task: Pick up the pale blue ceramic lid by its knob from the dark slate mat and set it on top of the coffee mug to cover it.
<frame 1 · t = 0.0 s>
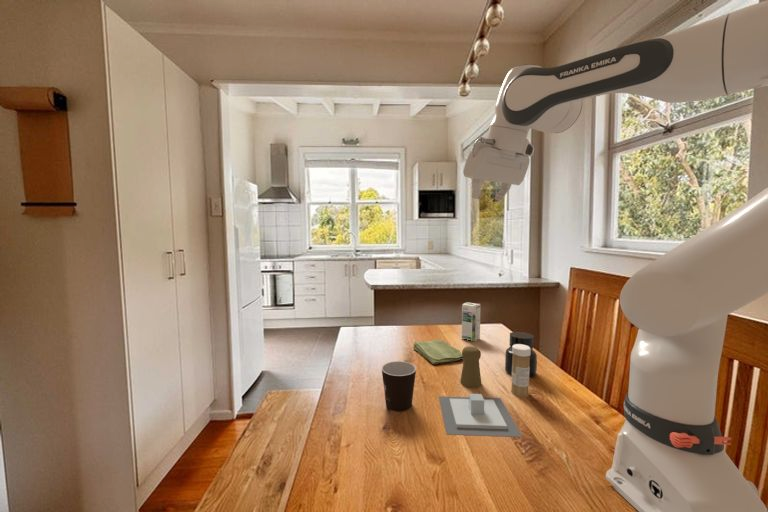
hand: (487, 199, 82), 52 cm above the table, tool tilted 20°, fingers open, 8 cm apart
mat: (475, 416, 77), on the table
lid: (476, 414, 77), point 1 cm above the table, touching mat
washcloth: (437, 355, 117), on the table
cork: (470, 385, 93), on the table
sprinkles bottle: (519, 395, 87), on the table
syrup box: (470, 339, 132), on the table
coffee mug: (400, 404, 83), on the table
ink bottle: (520, 373, 101), on the table
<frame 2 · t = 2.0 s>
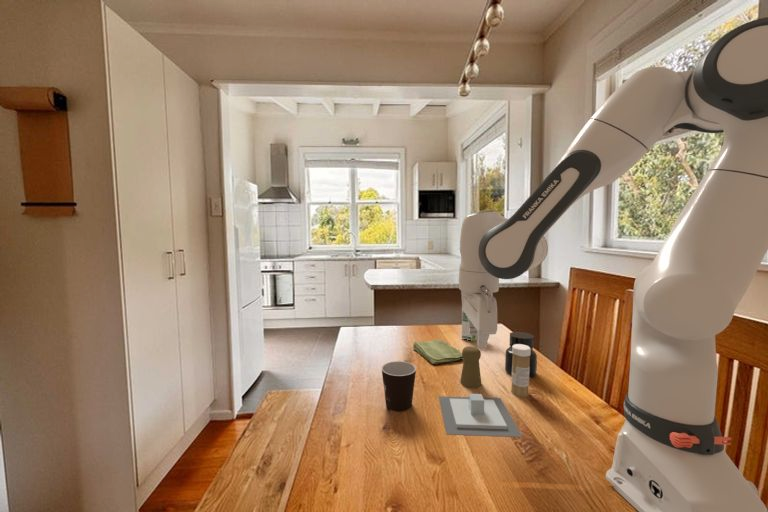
hand: (477, 341, 76), 18 cm above the table, tool pointing down, fingers open, 8 cm apart
nothing on the table moved.
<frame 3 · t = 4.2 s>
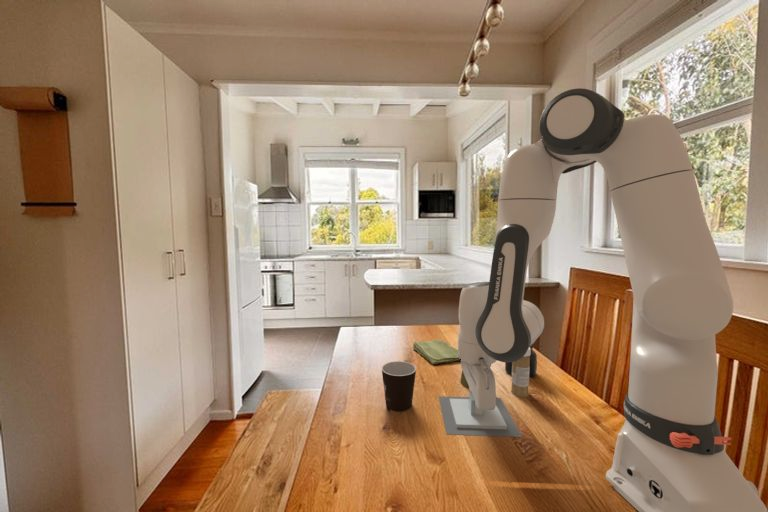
hand: (476, 407, 77), 2 cm above the table, tool pointing down, fingers closed on lid, 3 cm apart
lid: (476, 414, 77), point 1 cm above the table, touching gripper, mat
everything else where it was.
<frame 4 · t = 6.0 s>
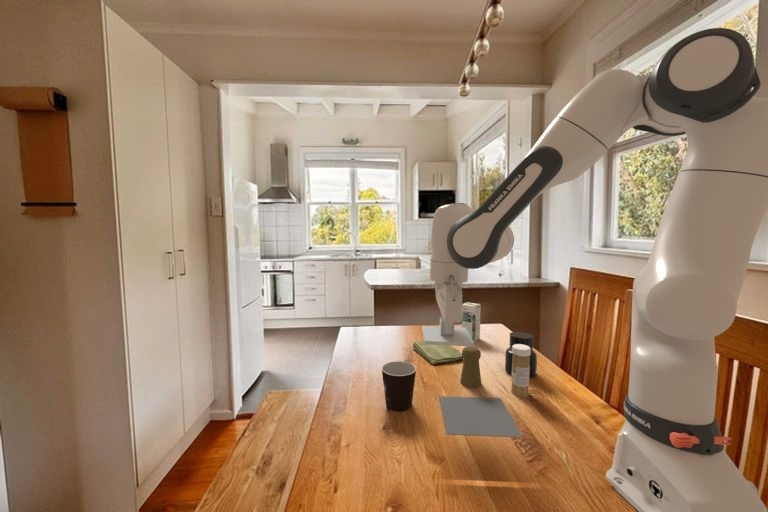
hand: (446, 329, 78), 20 cm above the table, tool pointing down, fingers closed on lid, 3 cm apart
lid: (446, 336, 79), point 19 cm above the table, touching gripper
everything else where it was.
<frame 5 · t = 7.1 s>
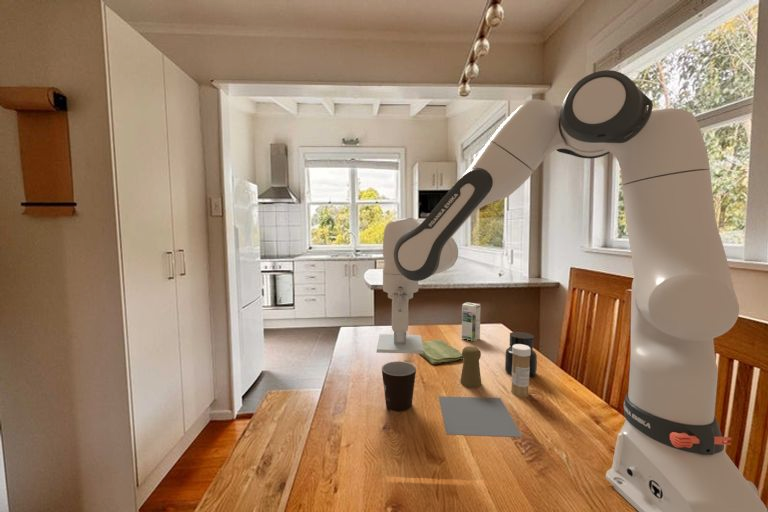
hand: (400, 338, 82), 17 cm above the table, tool pointing down, fingers closed on lid, 3 cm apart
lid: (400, 344, 82), point 15 cm above the table, touching gripper
everything else where it was.
when the fingers open (13 cm above the table, at t = 7.9 s): lid drops 2 cm, resting on coffee mug.
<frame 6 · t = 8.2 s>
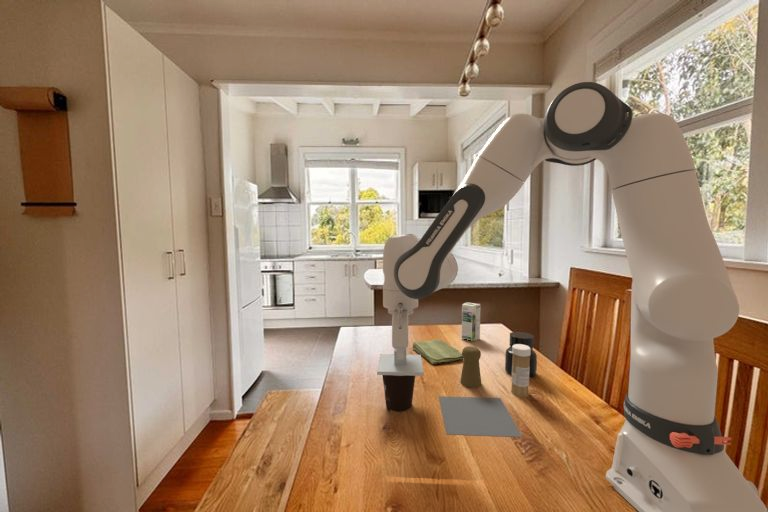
hand: (400, 353, 82), 13 cm above the table, tool pointing down, fingers open, 5 cm apart
lid: (400, 365, 83), point 10 cm above the table, touching coffee mug
coffee mug: (400, 404, 83), on the table, touching lid
everything else where it was.
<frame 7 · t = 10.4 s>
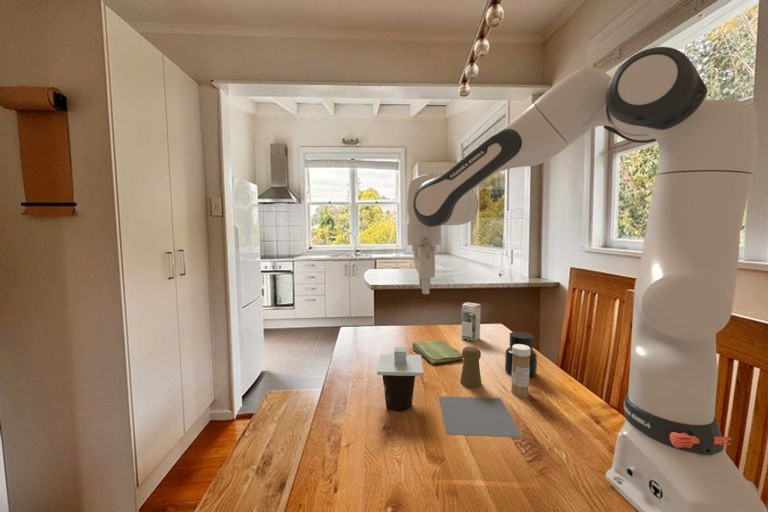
hand: (424, 290, 87), 28 cm above the table, tool pointing down, fingers open, 8 cm apart
nothing on the table moved.
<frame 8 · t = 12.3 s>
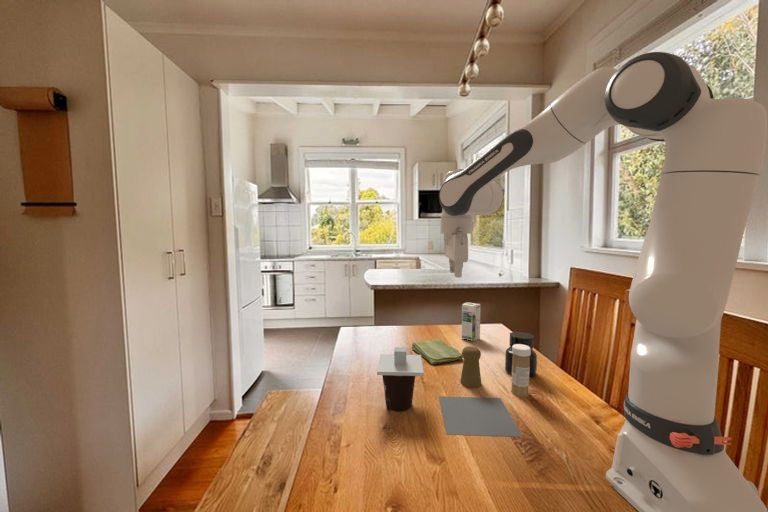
hand: (455, 274, 96), 31 cm above the table, tool pointing down, fingers open, 8 cm apart
nothing on the table moved.
at the end: lid inside the target area on the coffee mug (0.0 cm from its centre), point 10.2 cm above the coffee mug's base; lid tilted 0°; the gripper is holding nothing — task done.
